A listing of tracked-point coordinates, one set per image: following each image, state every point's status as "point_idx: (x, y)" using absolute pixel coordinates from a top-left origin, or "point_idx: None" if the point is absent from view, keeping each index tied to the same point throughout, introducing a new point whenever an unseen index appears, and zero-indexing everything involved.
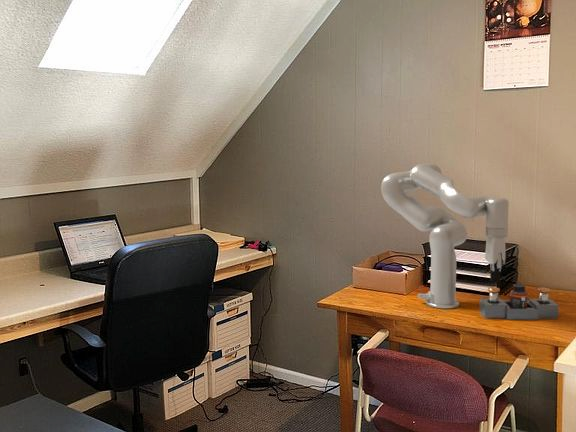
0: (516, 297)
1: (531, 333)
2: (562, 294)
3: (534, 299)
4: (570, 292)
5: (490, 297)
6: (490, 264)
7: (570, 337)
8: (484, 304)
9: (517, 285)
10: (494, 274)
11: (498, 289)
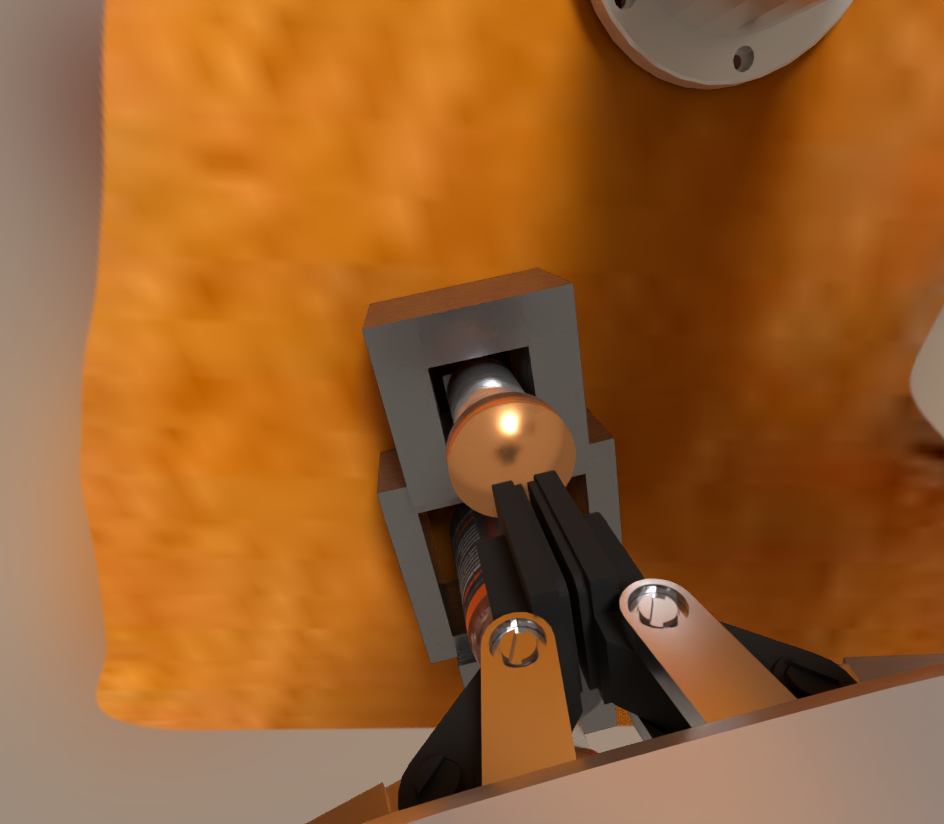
0: (470, 599)
1: (138, 576)
2: None
3: None
4: None
5: (471, 393)
6: (750, 665)
7: (165, 727)
8: (388, 322)
9: None
10: (489, 602)
11: (482, 506)
